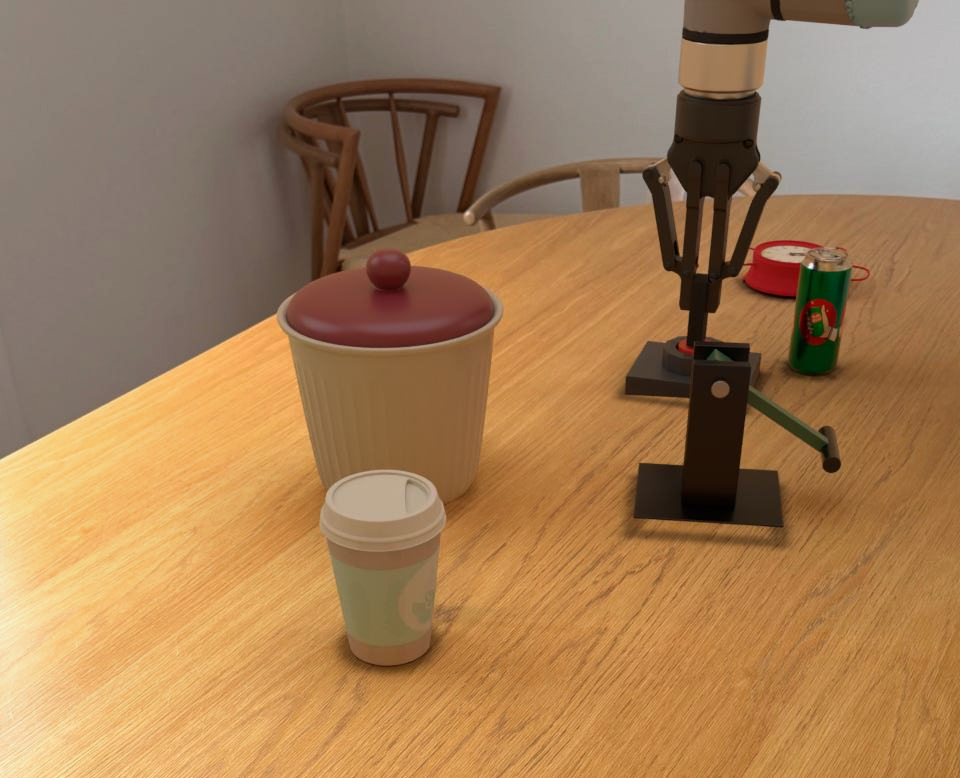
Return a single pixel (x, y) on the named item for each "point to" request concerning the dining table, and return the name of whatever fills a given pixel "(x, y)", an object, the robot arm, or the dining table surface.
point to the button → (686, 347)
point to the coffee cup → (385, 561)
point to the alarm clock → (780, 266)
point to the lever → (794, 424)
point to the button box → (669, 370)
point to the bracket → (712, 453)
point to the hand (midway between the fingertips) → (695, 341)
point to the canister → (394, 369)
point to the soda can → (819, 311)
